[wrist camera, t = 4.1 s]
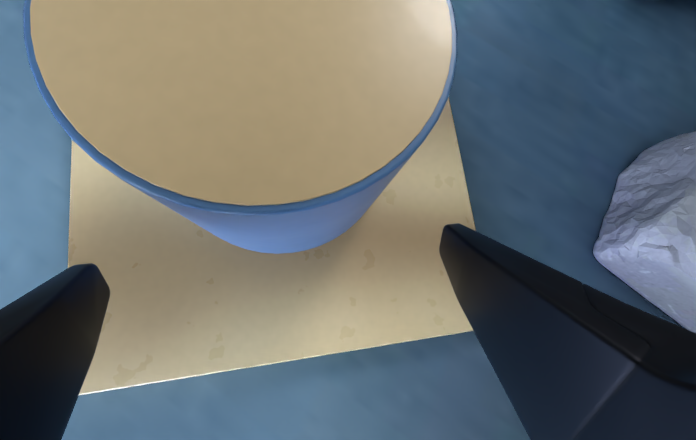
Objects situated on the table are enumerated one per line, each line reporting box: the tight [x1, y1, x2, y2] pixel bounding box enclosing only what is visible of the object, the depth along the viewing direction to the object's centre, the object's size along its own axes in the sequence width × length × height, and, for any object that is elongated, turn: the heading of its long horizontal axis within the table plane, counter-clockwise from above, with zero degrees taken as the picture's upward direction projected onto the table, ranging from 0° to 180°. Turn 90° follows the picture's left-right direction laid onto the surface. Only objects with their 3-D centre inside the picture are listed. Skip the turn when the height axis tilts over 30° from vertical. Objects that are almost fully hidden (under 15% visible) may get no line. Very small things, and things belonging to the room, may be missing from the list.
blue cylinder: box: [23, 0, 457, 254], centre depth 12 cm, size 10×10×8 cm
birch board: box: [68, 97, 476, 396], centre depth 17 cm, size 27×18×1 cm, turn 7°
